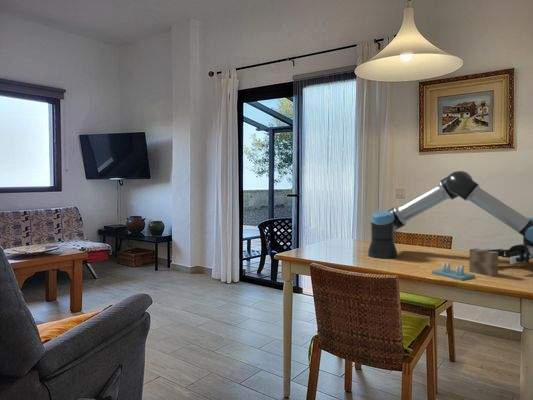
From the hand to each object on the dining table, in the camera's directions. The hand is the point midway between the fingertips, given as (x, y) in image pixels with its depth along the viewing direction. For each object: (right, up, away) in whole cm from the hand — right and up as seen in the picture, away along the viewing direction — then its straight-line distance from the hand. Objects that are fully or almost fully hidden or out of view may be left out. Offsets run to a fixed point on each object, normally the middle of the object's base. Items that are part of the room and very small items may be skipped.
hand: (494, 257), depth 177 cm
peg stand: (-21, -7, -6) cm, 23 cm away
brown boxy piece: (-7, -6, -3) cm, 10 cm away
